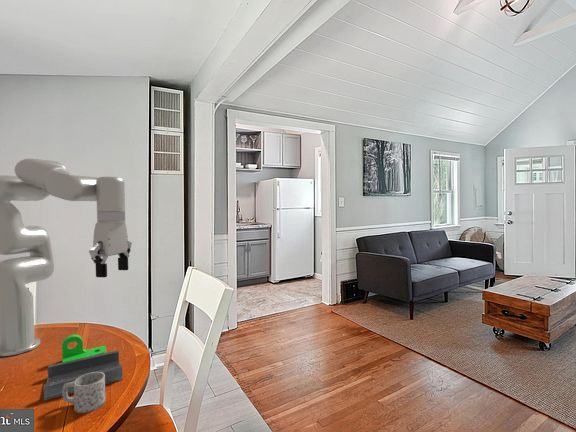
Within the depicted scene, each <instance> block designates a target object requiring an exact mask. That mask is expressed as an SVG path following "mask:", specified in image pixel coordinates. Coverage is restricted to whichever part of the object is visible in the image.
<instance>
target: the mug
mask: <svg viewBox="0 0 576 432" xmlns="http://www.w3.org/2000/svg"><path fill="white" fill-rule="evenodd" d="M68 387H72V388H74V393H73V397H71V396H69V394H67V388H68ZM61 397H62V400H63V402H66V403H69V404H73V406H74V407H73V409H74V411H75V412H76V414H87V413H91V412H94V411H96V410H98V409H100V408H101V407H103V406H104V405H105V403H106V384H105V374H104V373H102V372H92V373H87V374H84V375H82V376H80V377H78V378H77V379H76V380H75V381H73V382H69V383H65V384H64V385H63V390H62V396H61Z"/></svg>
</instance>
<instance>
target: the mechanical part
mask: <svg viewBox="0 0 576 432" xmlns="http://www.w3.org/2000/svg"><path fill="white" fill-rule="evenodd" d="M71 343H77V344H76V346H75V347H69V344H71ZM61 348H62V351H61V352H62V355H61V356H62V362H67V361H71V360H76V359H80V358H85V357H89V356H94V355H98V354H103V353H107V347H106V345H99V346H97V347H93V348H87V349H84V342H83V338H82V337H81V335H79V334H70V335H68V336H66V337H65V338H64V339H63V341H62V342H61Z"/></svg>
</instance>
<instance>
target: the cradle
mask: <svg viewBox="0 0 576 432" xmlns="http://www.w3.org/2000/svg"><path fill="white" fill-rule="evenodd" d="M119 353H120V351H119V350H118V349H115V350H112V351H109V352H108V351H106V353H103V354H98V355H94V356H89V357H85V358H80V359H76V360H71V361H67V362H63V361H62V362H59V363H54V364H49V365H48V366H47V381H46V383H45V384H43V401H47V400H52V399H55V398H59V397H63V396H62V390H63V385H64V384H65V383H69V382H73V381H75V380H76V379H77V378H78V377H80V376H82V375H84V374H87V373H92V372H102V373H104V374H105V385H108V384H111V383H115V382H119V381H122V380H123V378H124V377H123V366H122V365H121V363H120V354H119ZM67 394H68V395H70V394H74V388H72V387H68V388H67Z"/></svg>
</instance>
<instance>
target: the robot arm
mask: <svg viewBox="0 0 576 432" xmlns="http://www.w3.org/2000/svg"><path fill="white" fill-rule="evenodd" d="M14 174H15V175H0V255H1V256H10V255H18V254H26V253H29V255H28V256H20V257H13V258H8V259H4V260H1V261H0V357H9V356H11V357H12V356H17V355H19V354H23V353H26V352H29V351H31V350H34V349H35V348H37V347H38V346H40V345H41V339H40V338H39V337H35V318H34V317H35V316H34V315H35V314H34V312H35V311H34V308H35V307H34V295H33V292H31V290H30V289H29V288H28V287H27V286H26V285H27V284H29V283H34V282H35V283H36V282H39V281H44V280H47V279H48V278H50V277H52V275H53V274H54V270H55V263H54V262H55V261H54V256H53V250H52V244H51V243H52V242H51V239H50V234H49V233H48V231H47V230H46V229H45V228H43V227H42V226H38V225H30V226H29V225H27V226H26V225H24V222H23V216H22V213H21V211H20V210H19V209H18V208H17V207H16V206H15V205H14V204H13V203H11V201H16V202H19V201H20V202H27V201H28V202H31V201H32V202H35V201H36V202H37V201H42V200H45V199H46V198H48V197H49V196H51V197H52V196H53V197H55V198H58V199H61V200H65V201H69V202H96V221H97V222H96V223H95V226H94V229H93V237H92V238H93V243H92V244H93V245H92V247H91V248H90V249H89V251H88V253H89V255H90V257H91V258H90V259H91V260H92V261H93V264H94V265H95V278H107V277H108V264H107V263H106V261H107V259H108V257H112V256H116V255H117V256H118V257H117V269H118V271H128V270H129V257H130V252H131V248H132V242H131V241H129V239H128V230H127V223H126V200H125V199H126V197H125V192H126V189H125V180H124V179H123V178H122V177H118V176H100V177H99V176H87V175H86V176H85V175H73V174H71V173H70V171H69V170H68V169H67V167H66V166H65V165H64V164H62V163H61V162H58V161H54V160H47V159H41V158H40V159H39V158H25V159H24V158H23V159H21V160H19V161H18V162H17V163H16V165H15V166H14Z"/></svg>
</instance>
